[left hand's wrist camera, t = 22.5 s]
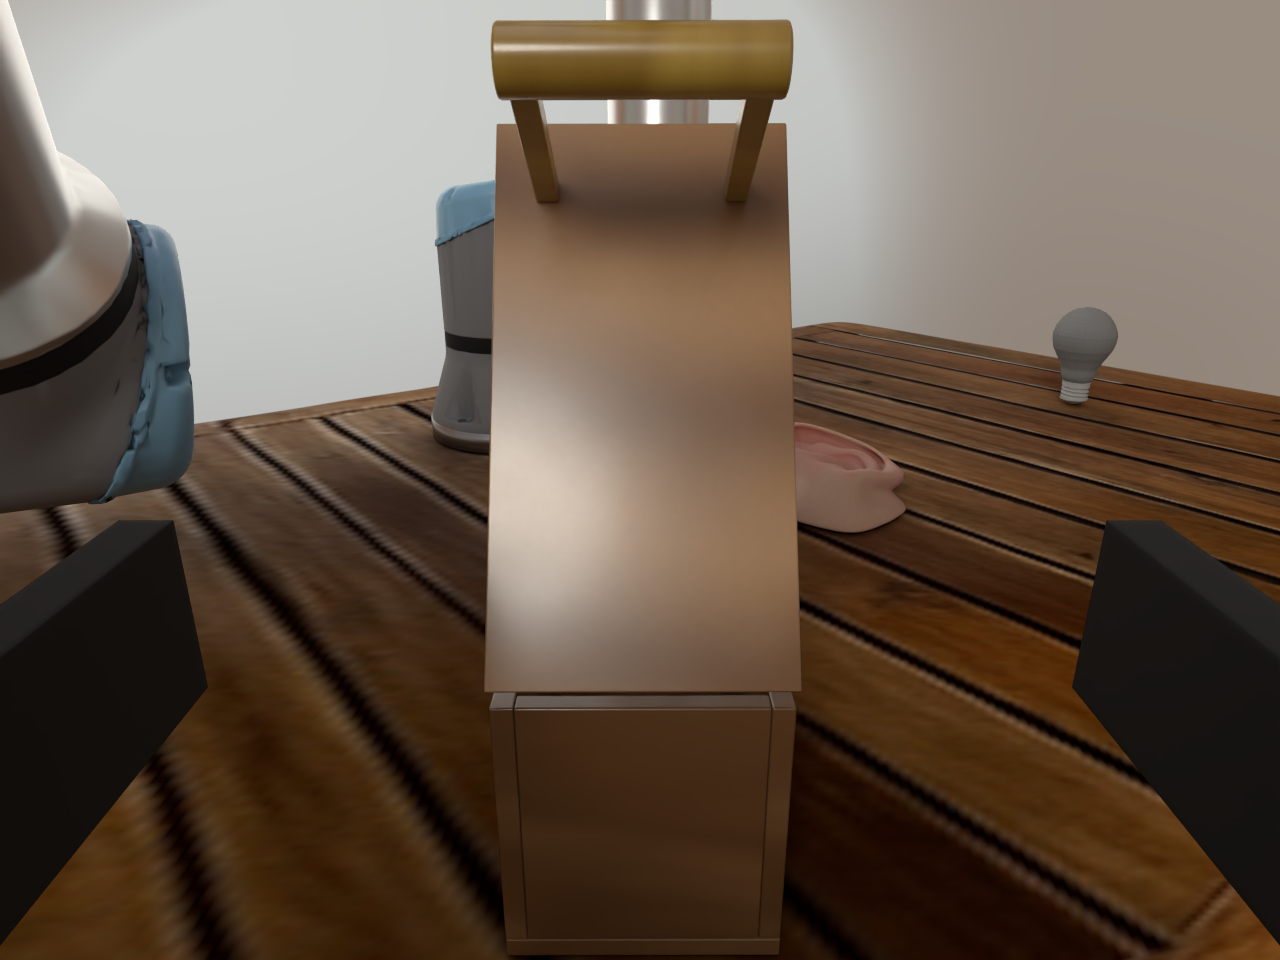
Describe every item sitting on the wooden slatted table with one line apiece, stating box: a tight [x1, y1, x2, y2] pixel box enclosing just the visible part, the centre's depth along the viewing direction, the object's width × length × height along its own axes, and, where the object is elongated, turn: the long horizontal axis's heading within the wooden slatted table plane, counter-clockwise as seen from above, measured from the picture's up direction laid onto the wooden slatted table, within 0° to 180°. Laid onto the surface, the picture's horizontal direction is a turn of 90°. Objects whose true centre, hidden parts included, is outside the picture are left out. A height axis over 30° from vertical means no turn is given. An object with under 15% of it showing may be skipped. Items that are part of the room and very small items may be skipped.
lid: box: [484, 20, 802, 693], centre depth 23 cm, size 17×9×8 cm
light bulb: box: [1053, 307, 1118, 404], centre depth 90 cm, size 6×6×10 cm
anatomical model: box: [794, 422, 906, 533], centre depth 66 cm, size 13×4×12 cm
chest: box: [489, 692, 796, 955], centre depth 35 cm, size 17×9×10 cm, turn 0°
